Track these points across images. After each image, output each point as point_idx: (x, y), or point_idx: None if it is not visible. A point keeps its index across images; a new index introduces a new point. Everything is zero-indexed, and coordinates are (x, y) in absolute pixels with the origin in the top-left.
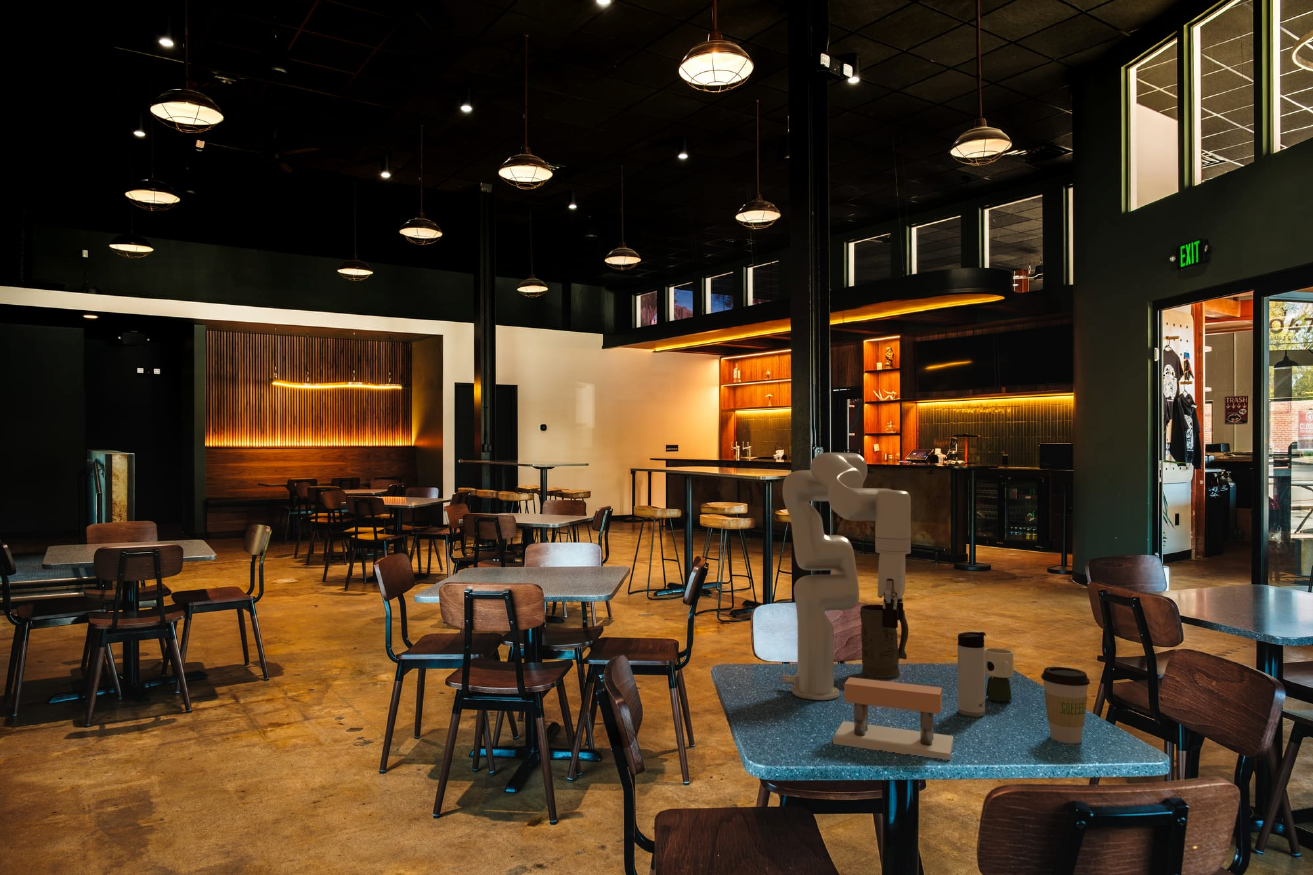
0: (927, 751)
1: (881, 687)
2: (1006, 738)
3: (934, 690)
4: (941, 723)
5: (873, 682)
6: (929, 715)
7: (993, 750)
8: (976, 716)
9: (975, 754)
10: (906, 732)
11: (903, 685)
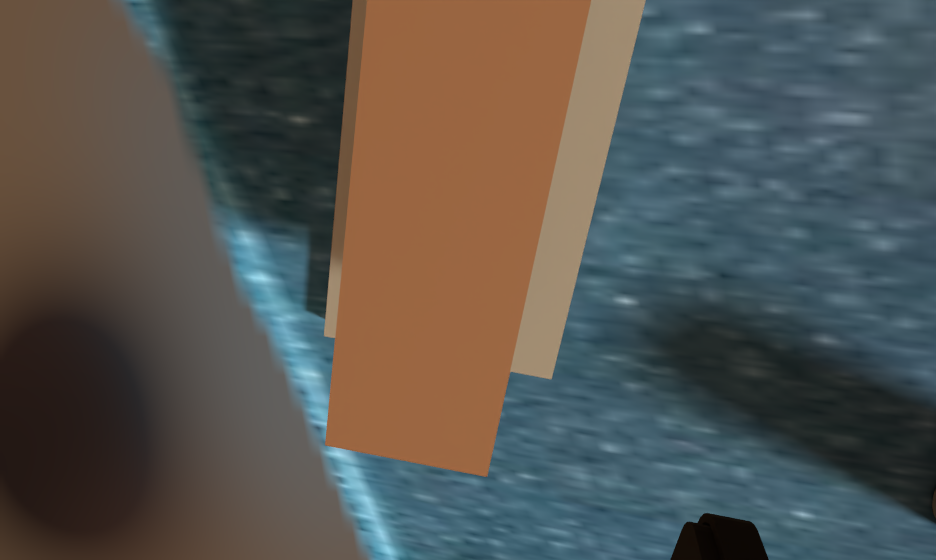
0: (332, 257)
1: (366, 118)
2: (652, 542)
3: (409, 431)
4: (821, 356)
5: (497, 62)
6: None
7: (501, 477)
8: (932, 503)
9: None
10: (552, 194)
11: (471, 271)
